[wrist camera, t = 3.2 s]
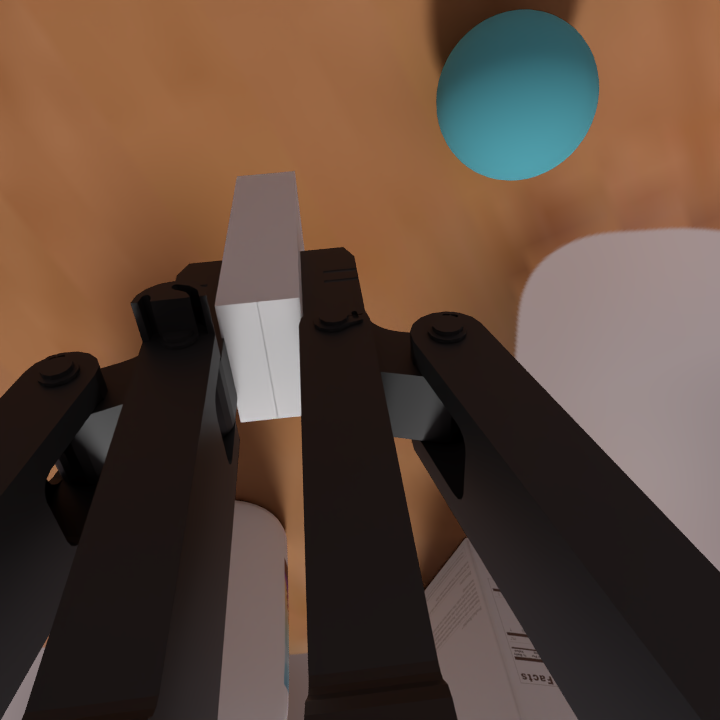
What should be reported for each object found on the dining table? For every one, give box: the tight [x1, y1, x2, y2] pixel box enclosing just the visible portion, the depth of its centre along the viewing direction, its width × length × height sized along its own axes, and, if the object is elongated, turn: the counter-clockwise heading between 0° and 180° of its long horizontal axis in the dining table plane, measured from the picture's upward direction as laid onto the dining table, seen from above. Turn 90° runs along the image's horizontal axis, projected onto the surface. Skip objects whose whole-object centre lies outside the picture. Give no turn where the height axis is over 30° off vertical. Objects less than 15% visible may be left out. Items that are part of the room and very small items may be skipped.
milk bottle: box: [218, 500, 289, 720], centre depth 34 cm, size 8×8×20 cm
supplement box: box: [424, 538, 578, 720], centre depth 42 cm, size 9×9×15 cm
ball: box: [436, 9, 599, 180], centre depth 24 cm, size 6×6×6 cm
